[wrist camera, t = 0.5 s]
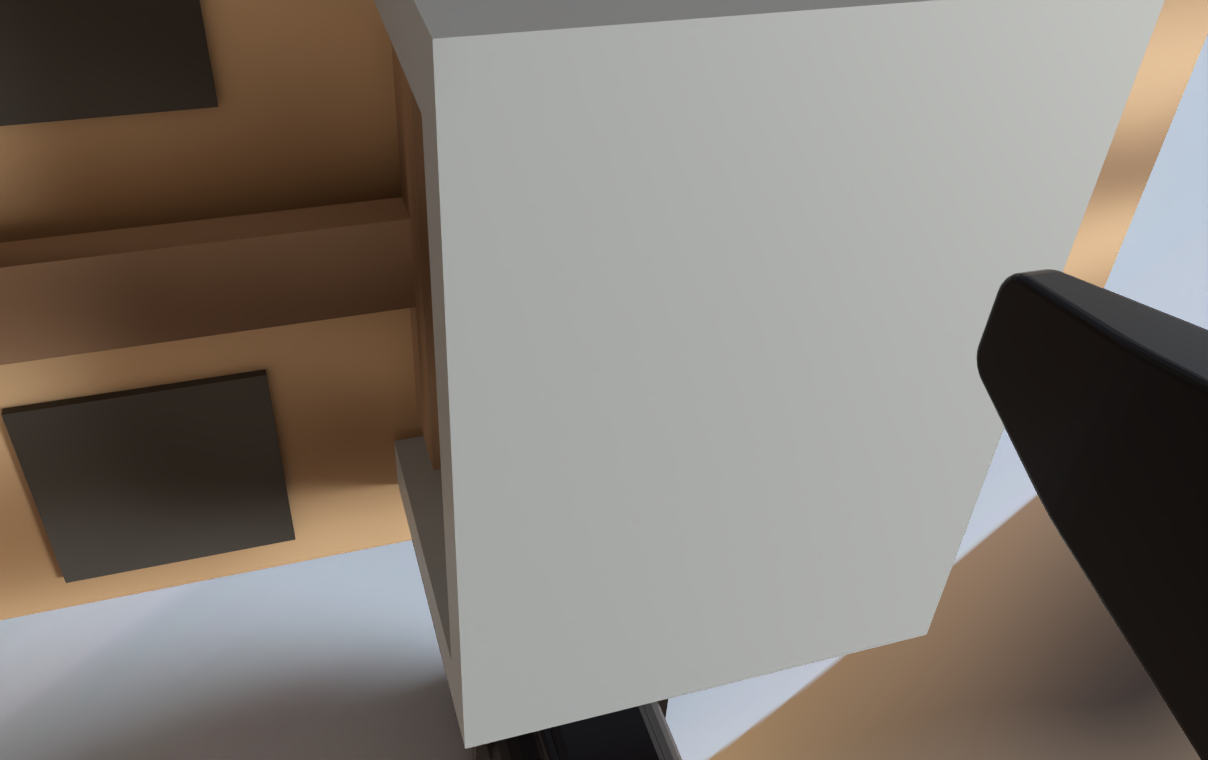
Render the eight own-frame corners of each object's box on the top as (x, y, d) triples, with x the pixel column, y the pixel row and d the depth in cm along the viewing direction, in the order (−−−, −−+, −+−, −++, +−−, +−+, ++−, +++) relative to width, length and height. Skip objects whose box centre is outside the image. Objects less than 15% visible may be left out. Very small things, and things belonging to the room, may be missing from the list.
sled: (788, 353, 27) (913, 532, 23) (-558, 576, 20) (-745, 895, 16) (862, -17, 22) (1048, 128, 17) (-982, 114, 14) (-1455, 415, 10)
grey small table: (764, 385, 30) (926, 634, 24) (389, 450, 28) (465, 748, 21) (870, -184, 21) (1172, -18, 15) (331, -169, 19) (432, 39, 12)
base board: (1028, 389, 34) (1056, 419, 33) (-510, 675, 24) (-538, 732, 23) (1293, -304, 22) (1348, -290, 21) (-1465, -322, 12) (-1607, -297, 11)
